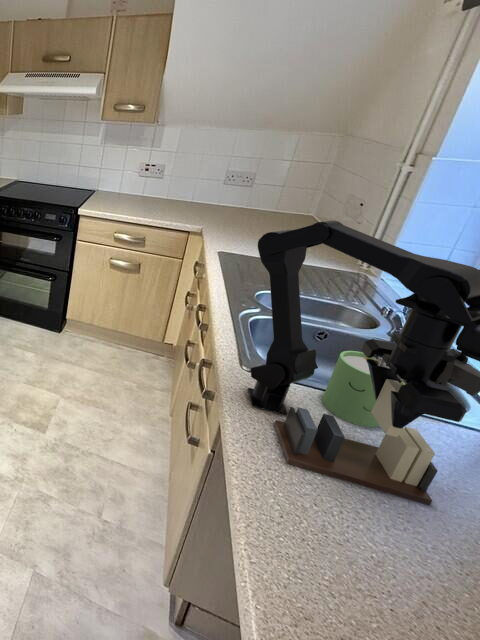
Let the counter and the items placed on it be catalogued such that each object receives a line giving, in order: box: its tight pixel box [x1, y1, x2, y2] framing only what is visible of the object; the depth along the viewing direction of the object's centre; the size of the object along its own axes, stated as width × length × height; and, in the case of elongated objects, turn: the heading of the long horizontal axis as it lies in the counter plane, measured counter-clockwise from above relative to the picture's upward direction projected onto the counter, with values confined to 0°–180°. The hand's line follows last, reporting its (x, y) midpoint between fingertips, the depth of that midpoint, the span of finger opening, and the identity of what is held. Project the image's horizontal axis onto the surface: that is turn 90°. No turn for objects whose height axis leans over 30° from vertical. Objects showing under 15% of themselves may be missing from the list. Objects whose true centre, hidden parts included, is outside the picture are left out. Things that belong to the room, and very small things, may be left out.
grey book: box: [295, 407, 317, 455], centre depth 79 cm, size 6×2×6 cm, turn 156°
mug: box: [321, 350, 406, 428], centre depth 88 cm, size 13×10×12 cm
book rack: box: [273, 406, 439, 506], centre depth 77 cm, size 11×20×6 cm, turn 66°
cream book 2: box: [376, 427, 419, 482], centre depth 74 cm, size 6×2×8 cm, turn 156°
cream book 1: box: [371, 379, 402, 437], centre depth 72 cm, size 6×2×8 cm, turn 156°
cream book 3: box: [403, 426, 436, 486], centre depth 73 cm, size 6×2×8 cm, turn 156°
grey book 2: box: [314, 412, 346, 463], centre depth 78 cm, size 6×2×6 cm, turn 156°
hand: (388, 415), depth 72 cm, fingers closed on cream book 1, 6 cm apart
